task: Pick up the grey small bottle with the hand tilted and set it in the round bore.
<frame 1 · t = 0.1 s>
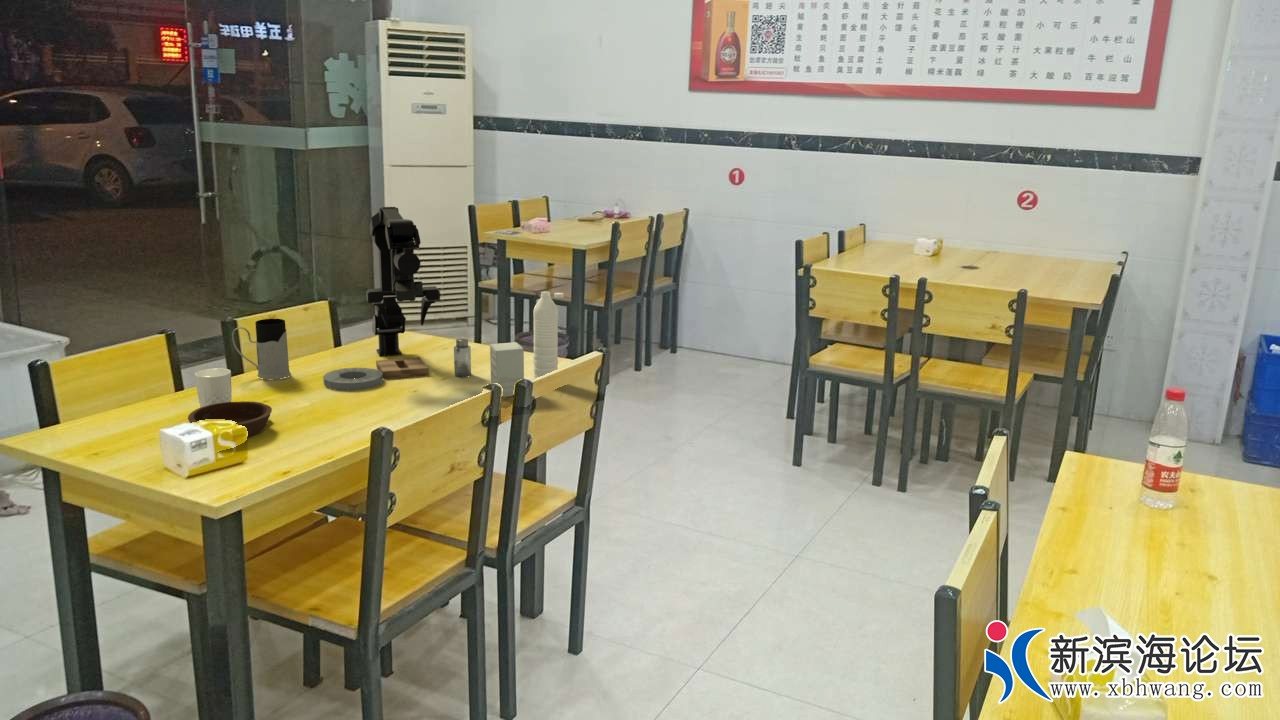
hand: (404, 326, 273), 14 cm above the table, tool pointing down, fingers open, 9 cm apart
grey small bottle: (462, 375, 280), on the table
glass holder: (263, 376, 275), on the table
supplement box: (507, 393, 265), on the table
white cup: (216, 413, 244), on the table
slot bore: (401, 371, 283), on the table
water bottle: (549, 384, 275), on the table
dish: (232, 433, 231), on the table
round bore: (353, 382, 271), on the table
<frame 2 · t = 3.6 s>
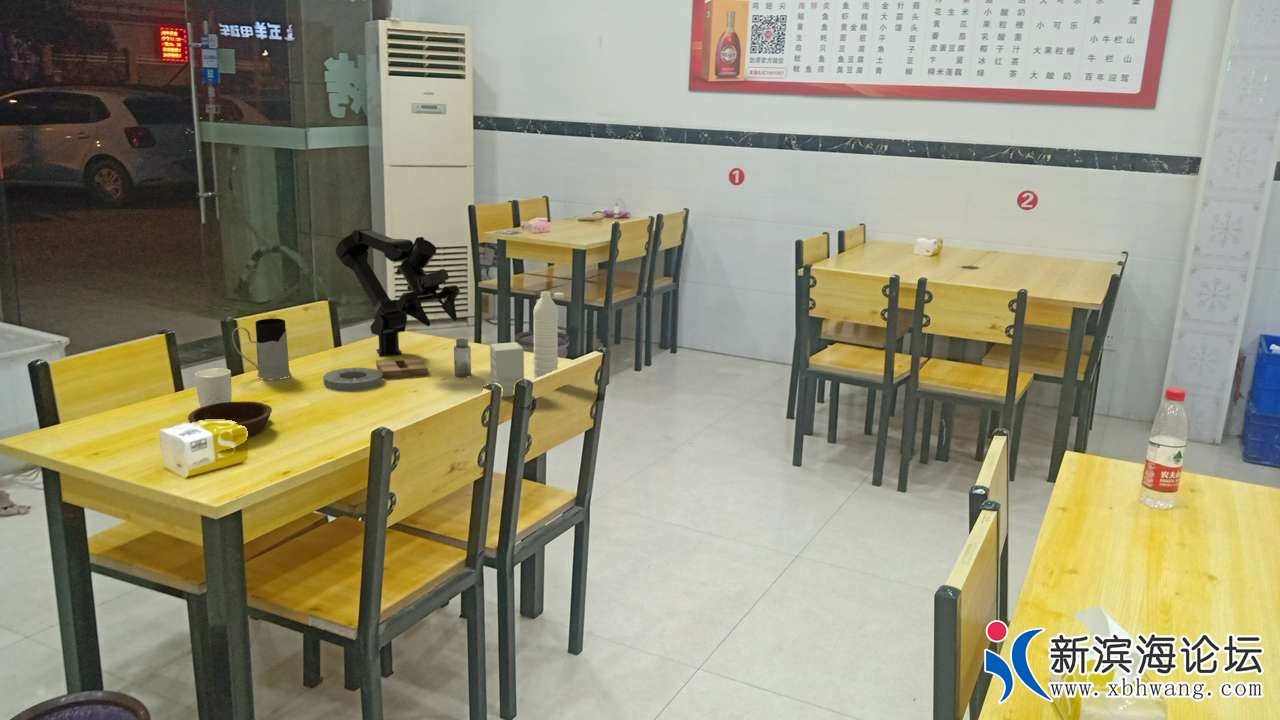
hand: (442, 322, 282), 13 cm above the table, tool tilted 45°, fingers open, 9 cm apart
nothing on the table moved.
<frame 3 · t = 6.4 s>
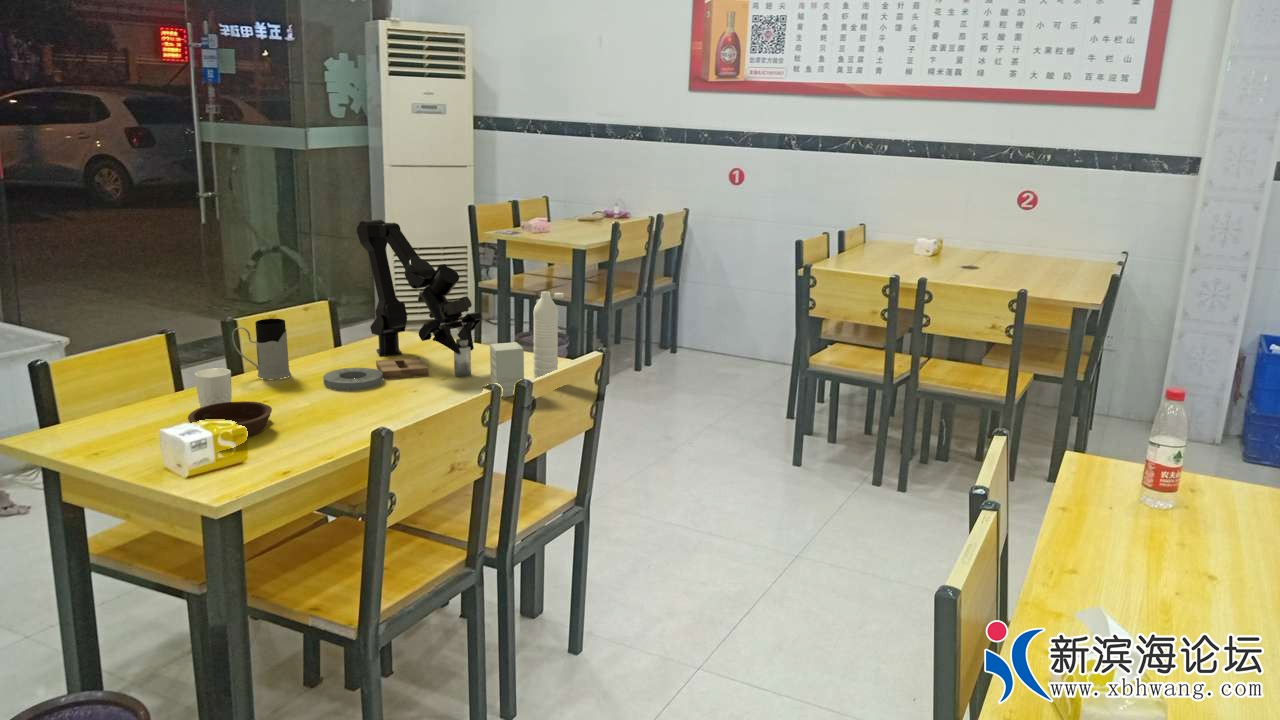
hand: (465, 351, 278), 7 cm above the table, tool tilted 45°, fingers closed on grey small bottle, 4 cm apart
grey small bottle: (462, 375, 280), on the table, touching gripper
everything else where it was.
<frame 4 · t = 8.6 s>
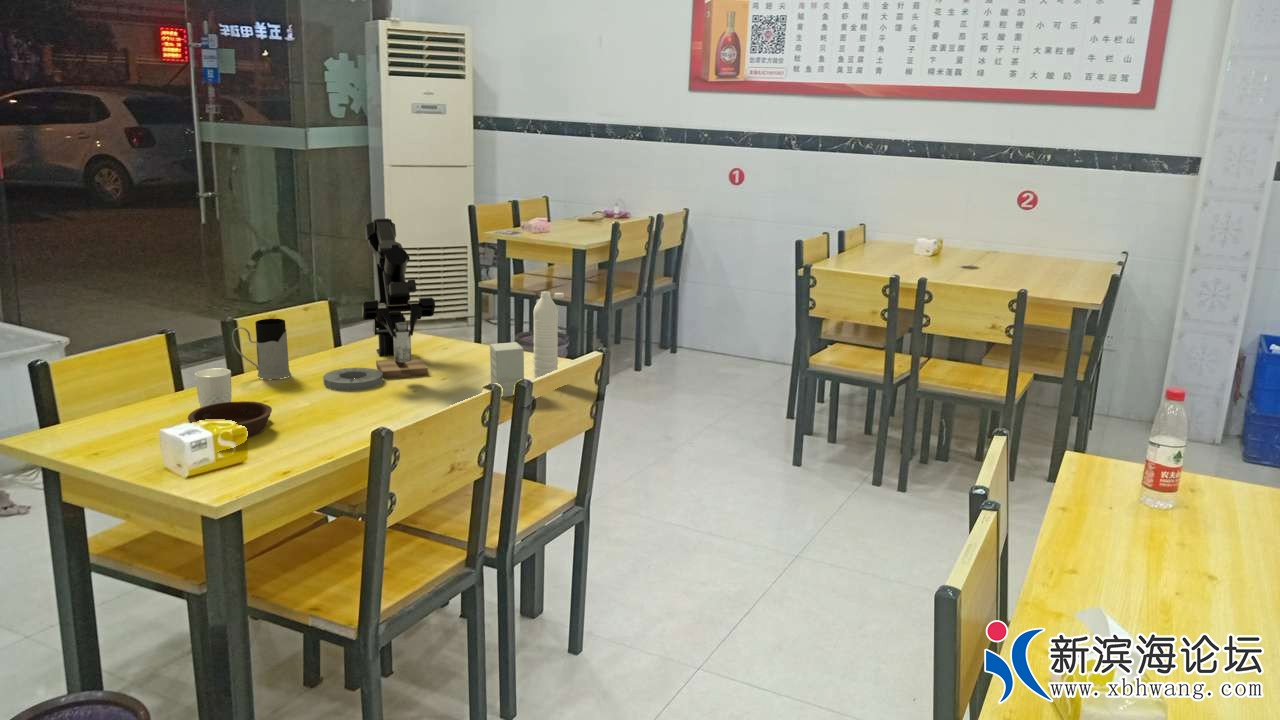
hand: (402, 335, 269), 13 cm above the table, tool tilted 45°, fingers closed on grey small bottle, 4 cm apart
grey small bottle: (402, 360, 272), point 6 cm above the table, touching gripper
everything else where it was.
when the fingers open (8 cm above the table, at t = 10.9 s): grey small bottle drops 1 cm, resting in round bore.
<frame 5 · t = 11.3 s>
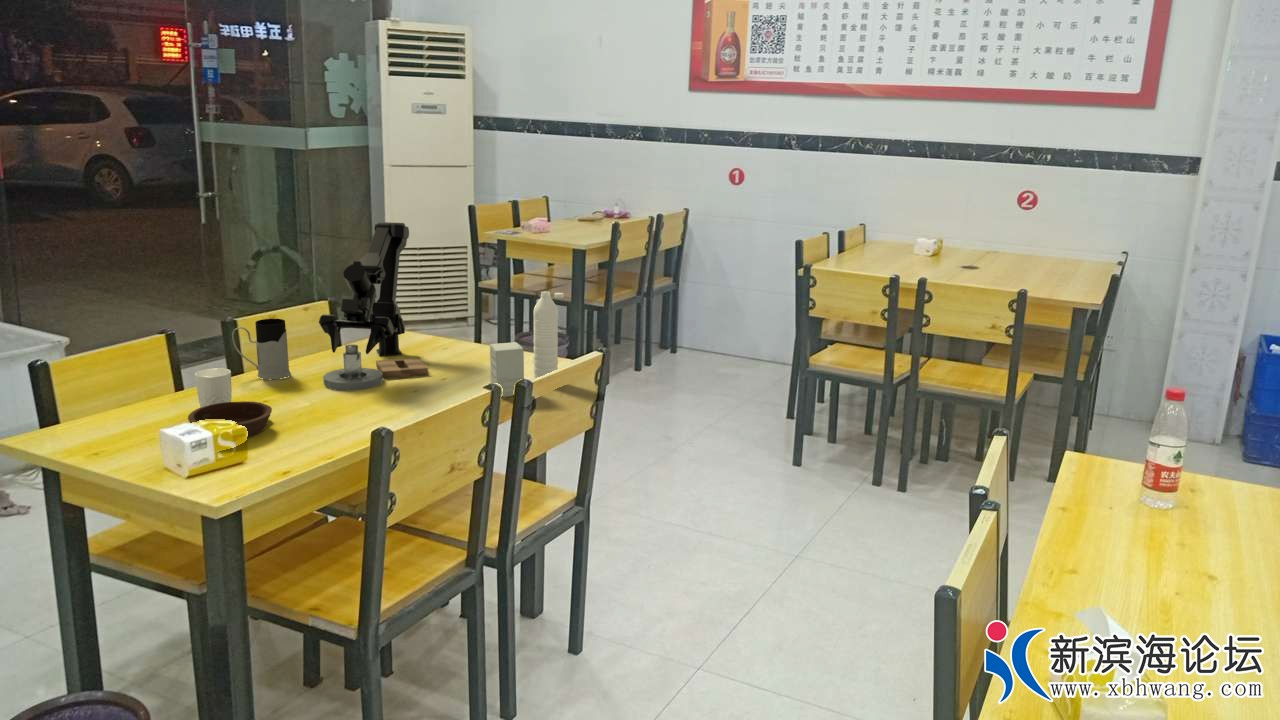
hand: (350, 352, 268), 9 cm above the table, tool tilted 45°, fingers open, 9 cm apart
grey small bottle: (353, 382, 271), resting in round bore
everything else where it was.
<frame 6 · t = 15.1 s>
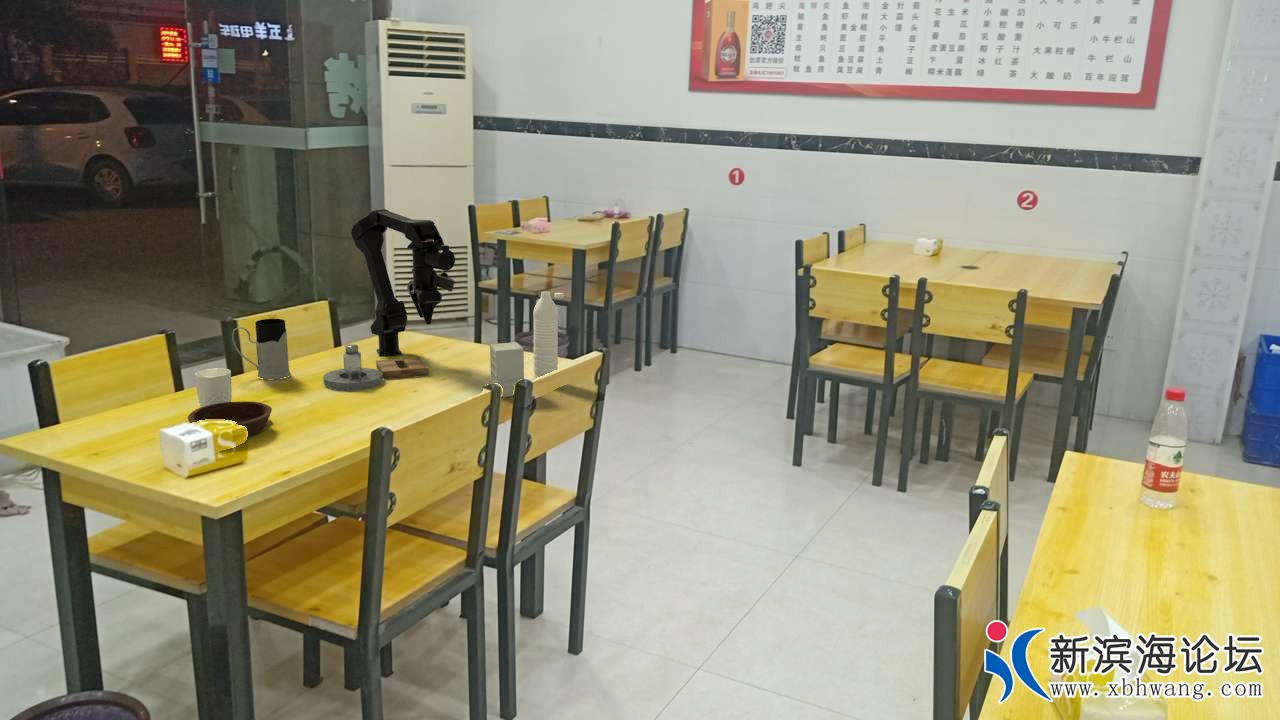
hand: (425, 320, 288), 12 cm above the table, tool pointing down, fingers open, 9 cm apart
nothing on the table moved.
at the end: grey small bottle 0.0 cm from the round bore (horizontally); grey small bottle tilted 0°; grey small bottle resting in round bore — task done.
